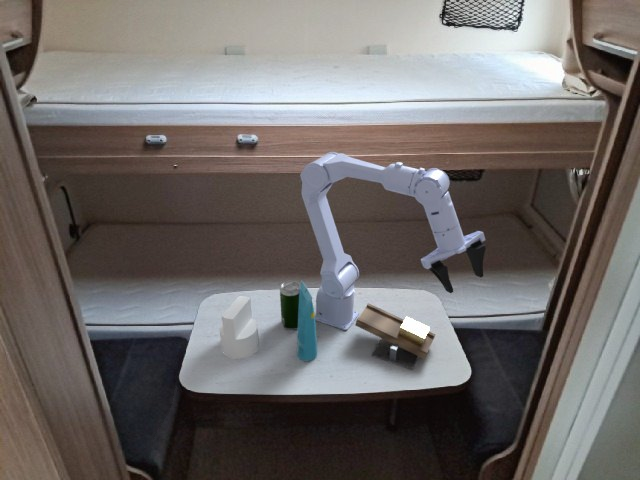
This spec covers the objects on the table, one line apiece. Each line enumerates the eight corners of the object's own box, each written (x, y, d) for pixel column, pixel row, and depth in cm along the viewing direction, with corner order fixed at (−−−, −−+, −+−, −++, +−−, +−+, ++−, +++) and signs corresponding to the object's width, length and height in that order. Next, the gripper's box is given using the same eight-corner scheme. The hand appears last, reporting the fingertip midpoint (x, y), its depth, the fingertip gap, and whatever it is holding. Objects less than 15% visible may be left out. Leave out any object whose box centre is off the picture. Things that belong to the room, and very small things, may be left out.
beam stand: (371, 356, 113) (372, 343, 111) (390, 324, 123) (391, 313, 121) (412, 369, 109) (413, 357, 107) (427, 336, 119) (429, 324, 117)
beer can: (288, 333, 120) (286, 295, 114) (277, 322, 124) (275, 284, 118) (306, 326, 122) (305, 288, 117) (295, 315, 126) (294, 278, 121)
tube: (322, 361, 111) (322, 294, 102) (304, 367, 109) (302, 300, 100) (309, 342, 117) (308, 277, 108) (291, 347, 115) (289, 282, 106)
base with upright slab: (233, 330, 121) (228, 292, 115) (265, 338, 118) (262, 299, 112) (215, 353, 113) (209, 314, 108) (248, 362, 111) (244, 322, 105)
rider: (397, 336, 112) (400, 327, 110) (403, 325, 115) (406, 316, 114) (421, 347, 110) (424, 338, 108) (426, 336, 114) (429, 327, 112)
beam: (353, 328, 115) (355, 320, 113) (366, 309, 121) (369, 301, 120) (423, 362, 109) (426, 354, 108) (432, 340, 116) (436, 333, 114)
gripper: (424, 244, 93) (445, 303, 97) (485, 214, 96) (504, 273, 99) (409, 239, 100) (429, 294, 103) (466, 211, 102) (484, 266, 106)
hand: (464, 283), depth 102 cm, fingers open, 7 cm apart
